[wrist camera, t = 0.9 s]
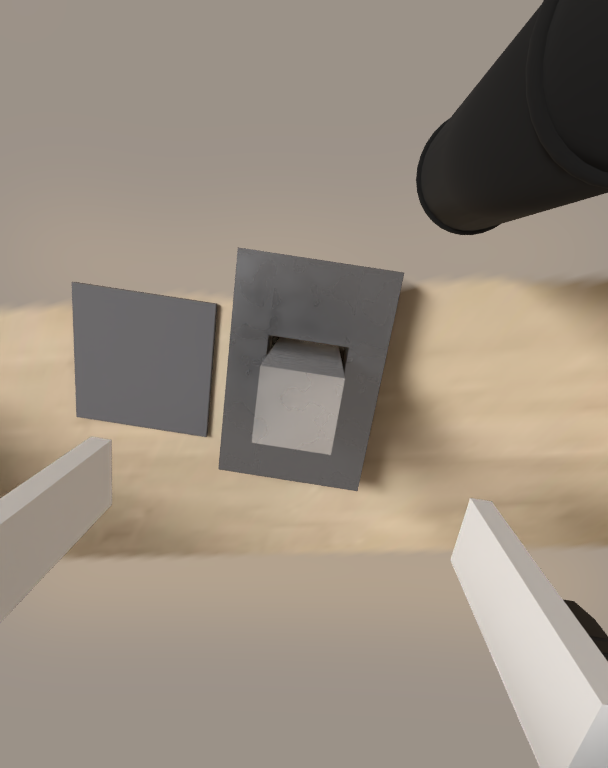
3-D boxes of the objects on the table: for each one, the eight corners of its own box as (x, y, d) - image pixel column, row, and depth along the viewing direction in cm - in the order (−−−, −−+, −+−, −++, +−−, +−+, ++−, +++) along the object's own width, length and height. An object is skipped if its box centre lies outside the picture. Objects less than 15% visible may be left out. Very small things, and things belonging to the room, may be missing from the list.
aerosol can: (427, 249, 29) (637, 196, 9) (404, 132, 26) (617, -245, 7) (537, 216, 28) (1027, 81, 8) (524, 91, 25) (1138, -474, 6)
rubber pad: (79, 415, 34) (76, 416, 34) (74, 282, 31) (71, 282, 30) (207, 435, 34) (206, 436, 34) (217, 303, 31) (215, 304, 30)
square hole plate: (227, 453, 34) (218, 469, 32) (246, 250, 29) (237, 247, 26) (354, 473, 34) (357, 491, 31) (396, 272, 29) (404, 272, 26)
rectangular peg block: (272, 393, 33) (251, 442, 23) (279, 337, 31) (260, 365, 22) (328, 401, 33) (331, 454, 23) (338, 346, 31) (345, 378, 22)
